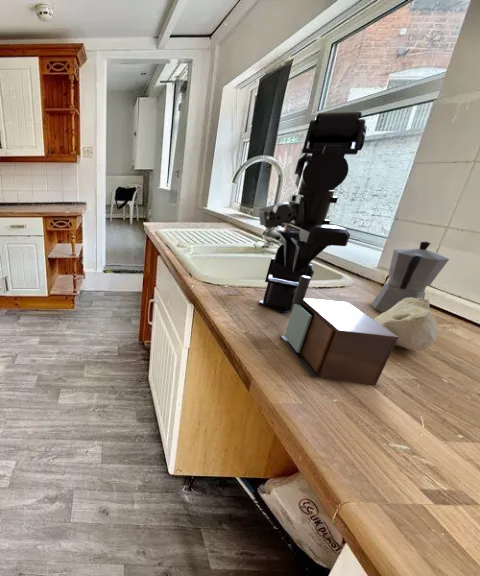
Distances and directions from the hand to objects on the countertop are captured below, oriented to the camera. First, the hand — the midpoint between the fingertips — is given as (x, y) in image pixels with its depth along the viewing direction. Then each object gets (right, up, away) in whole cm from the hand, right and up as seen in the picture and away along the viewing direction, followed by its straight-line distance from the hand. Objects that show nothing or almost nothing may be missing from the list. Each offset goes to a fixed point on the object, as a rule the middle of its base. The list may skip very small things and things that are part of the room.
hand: (291, 269), depth 62 cm
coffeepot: (+35, -10, +15) cm, 39 cm away
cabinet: (+2, -17, -6) cm, 18 cm away
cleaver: (-2, -15, -3) cm, 15 cm away
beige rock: (+22, -14, +2) cm, 26 cm away
